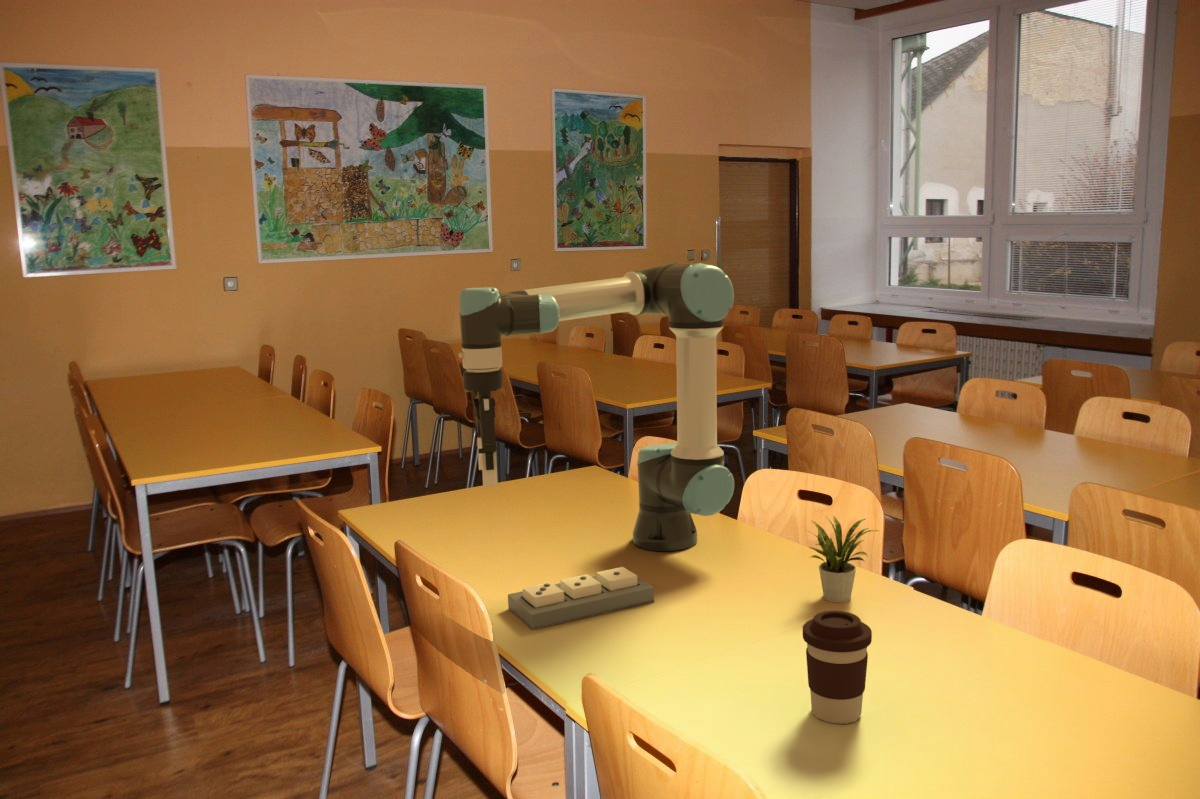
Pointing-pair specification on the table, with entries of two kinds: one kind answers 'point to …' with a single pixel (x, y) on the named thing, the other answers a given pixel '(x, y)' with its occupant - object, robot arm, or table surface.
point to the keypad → (579, 605)
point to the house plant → (838, 561)
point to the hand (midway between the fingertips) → (487, 477)
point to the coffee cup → (836, 664)
